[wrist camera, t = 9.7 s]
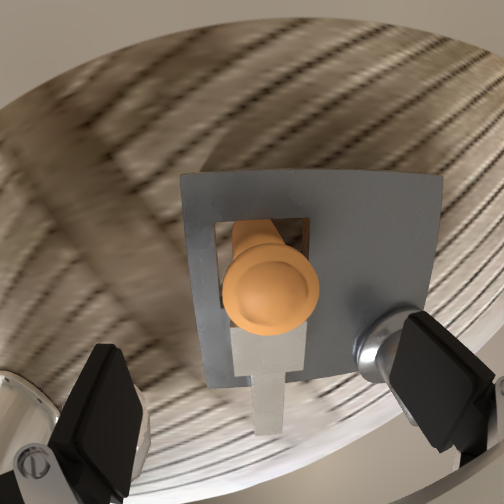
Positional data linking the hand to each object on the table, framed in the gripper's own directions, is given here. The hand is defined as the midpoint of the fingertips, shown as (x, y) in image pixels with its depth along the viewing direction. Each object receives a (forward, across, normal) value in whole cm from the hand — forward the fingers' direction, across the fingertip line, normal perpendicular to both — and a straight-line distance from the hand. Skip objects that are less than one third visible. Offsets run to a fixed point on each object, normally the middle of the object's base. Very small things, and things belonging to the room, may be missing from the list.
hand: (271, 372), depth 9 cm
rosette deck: (+14, -5, +3) cm, 16 cm away
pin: (+14, -1, -1) cm, 14 cm away
